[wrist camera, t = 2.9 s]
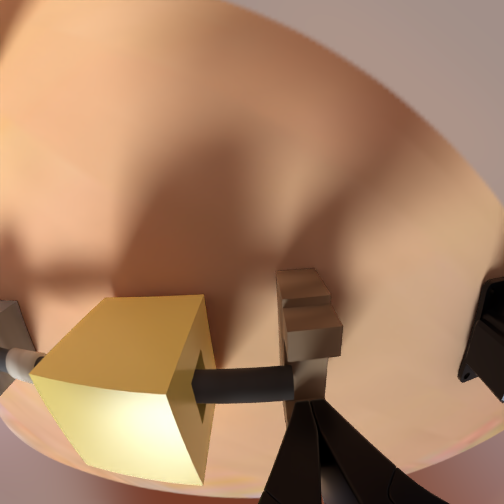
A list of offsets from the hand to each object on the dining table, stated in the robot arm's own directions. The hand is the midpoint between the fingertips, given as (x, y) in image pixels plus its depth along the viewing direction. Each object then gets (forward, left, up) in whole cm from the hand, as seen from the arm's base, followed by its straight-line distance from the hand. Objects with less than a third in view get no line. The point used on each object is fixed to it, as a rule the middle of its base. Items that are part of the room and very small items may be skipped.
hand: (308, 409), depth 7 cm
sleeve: (+5, 0, -4) cm, 7 cm away
